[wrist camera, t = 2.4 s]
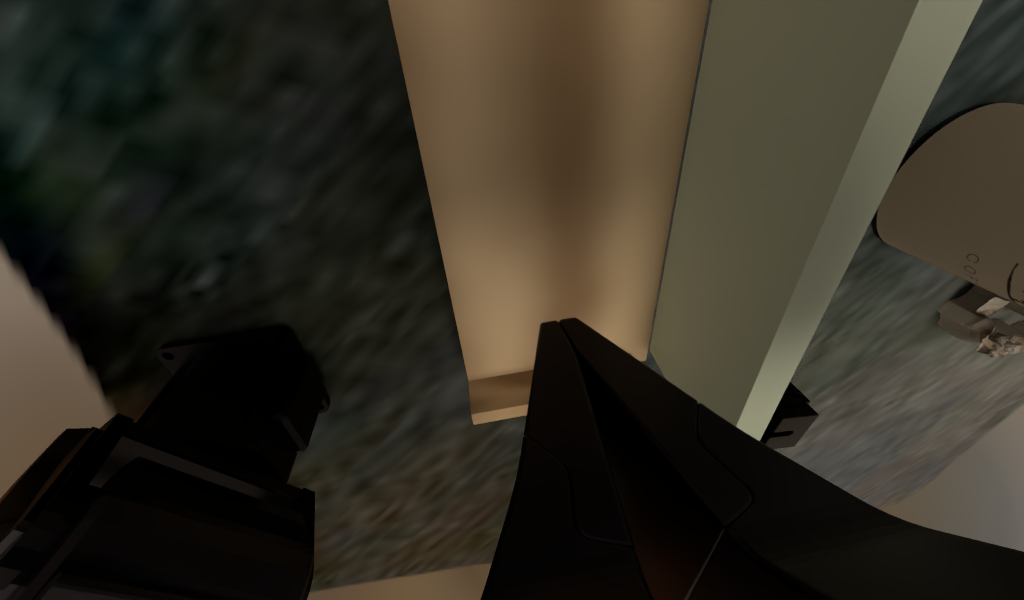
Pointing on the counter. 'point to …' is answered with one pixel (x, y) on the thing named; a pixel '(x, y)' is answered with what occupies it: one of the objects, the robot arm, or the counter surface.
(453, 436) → the counter surface
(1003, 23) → the counter surface
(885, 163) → the panel
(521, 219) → the cart bed
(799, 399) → the build plate
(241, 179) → the counter surface
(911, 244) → the travel mug
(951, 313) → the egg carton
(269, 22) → the counter surface
